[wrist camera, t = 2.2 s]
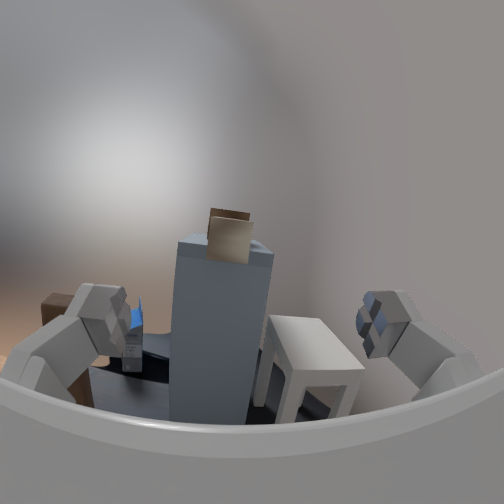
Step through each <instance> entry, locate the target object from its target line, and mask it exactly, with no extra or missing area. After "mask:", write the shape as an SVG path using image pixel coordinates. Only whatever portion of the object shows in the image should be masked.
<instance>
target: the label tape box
mask: <svg viewBox="0 0 504 504" xmlns="http://www.w3.org/2000/svg"><path fill="white" fill-rule="evenodd" d="M131 316H132V319H131V327H130V330H129V333H127V334H126V335H125V336H124V339H125V342H126V343H125V346H124V349H123V352H122V356H121V358H122V368H123V371H124V372H142V338H143V313H142V305H141V299H140V296H139V308H136V309H134V310H131Z"/></svg>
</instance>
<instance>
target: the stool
mask: <svg viewBox="0 0 504 504" xmlns="http://www.w3.org/2000/svg"><path fill="white" fill-rule="evenodd" d="M275 351H276V353H277V356H278V358H279V361H280V363H281V366H282V369H283V371H284V374H285V377H286V380H285V384H284V389H283V393H282V397H281V401H280V405H279V409H278V413H277V416H276V420H275V424H285V423H294V421H295V418H296V414H297V411H298V408H299V407H301V405H302V401H303V398H304V394H305V391H306V387H307V386H339V388H338V391H337V394H336V397H335V400H334V403H333V406H332V408H331V411H330V414H329V417H328V419H333V418H340V417H346V416H348V415H349V412H350V410H351V407H352V405H353V402H354V399H355V397H356V394H357V392H358V389H359V386H360V383H361V380H362V377H363V374H364V371H365V368H364V367H363V366H362V365H361V363H360V362H359V361H358V360H357V359H356V358H355V357H354V356H353V355H352V354H351V353H350V351H349V350H348V349H347V348H346V347H345V346H344V345H343V344H342V343H341V342H340V341H339V339H338V338H337V337H336V336H335V335H334V334H333V333H332V332H331V331H330V330H329V328H328V327H327V326H325V324H324V323H323V322H322V321H321V320H320V319H317V318H303V317H290V316H279V315H269V316H268V321H267V327H266V333H265V339H264V344H263V350H262V356H261V361H260V367H259V372H258V377H257V383H256V388H255V393H254V399H253V404H254V406H256V407H264V403H265V398H266V394H267V389H268V384H269V379H270V375H271V370H272V365H273V360H274V354H275Z"/></svg>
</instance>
